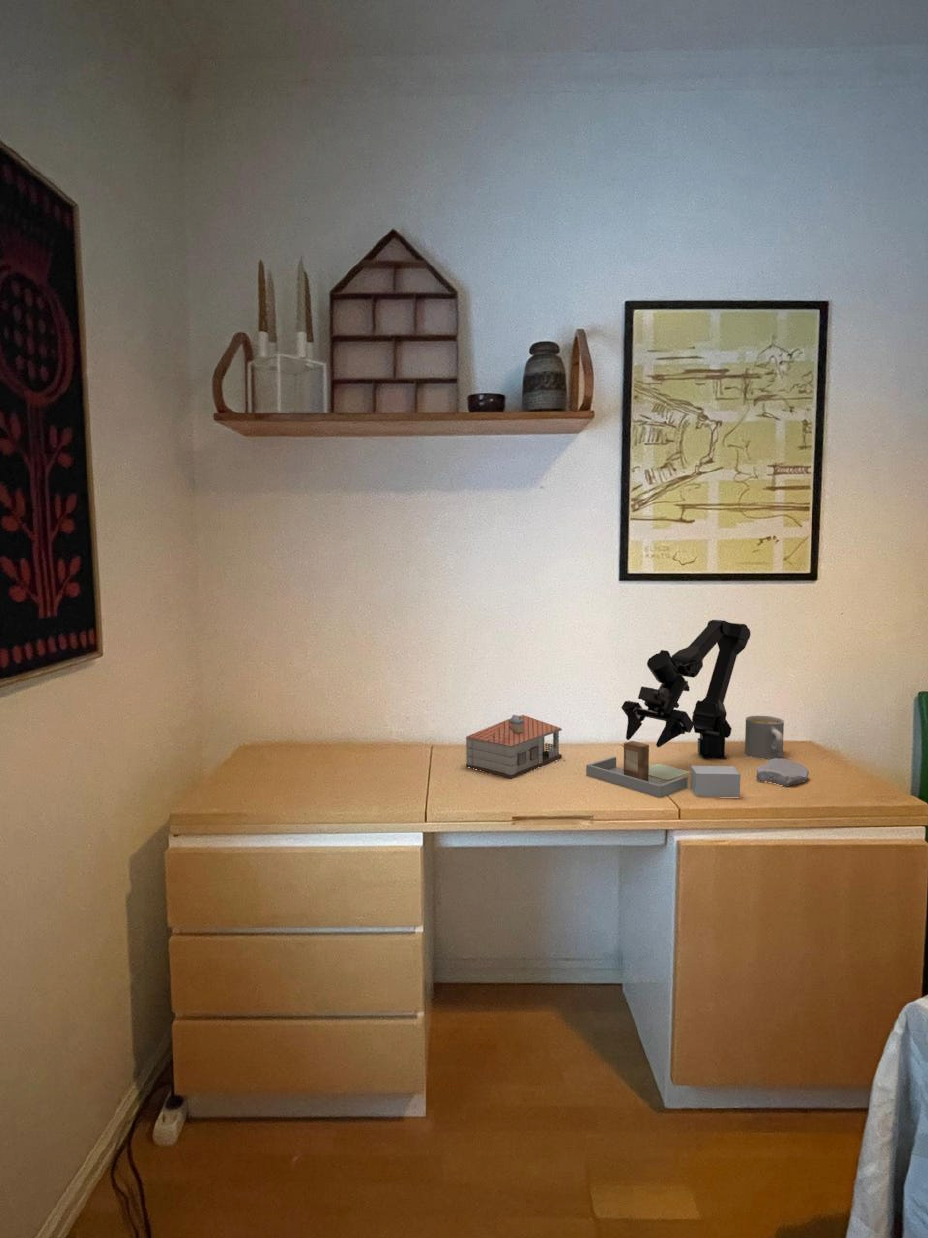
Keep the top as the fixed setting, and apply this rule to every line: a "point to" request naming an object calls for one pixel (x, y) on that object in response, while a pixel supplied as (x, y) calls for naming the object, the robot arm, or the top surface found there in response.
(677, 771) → the pad
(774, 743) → the coffee mug
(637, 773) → the walnut box
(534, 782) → the top surface
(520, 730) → the model house
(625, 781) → the parts tray
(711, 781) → the greyblue box
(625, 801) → the top surface
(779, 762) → the stone block
